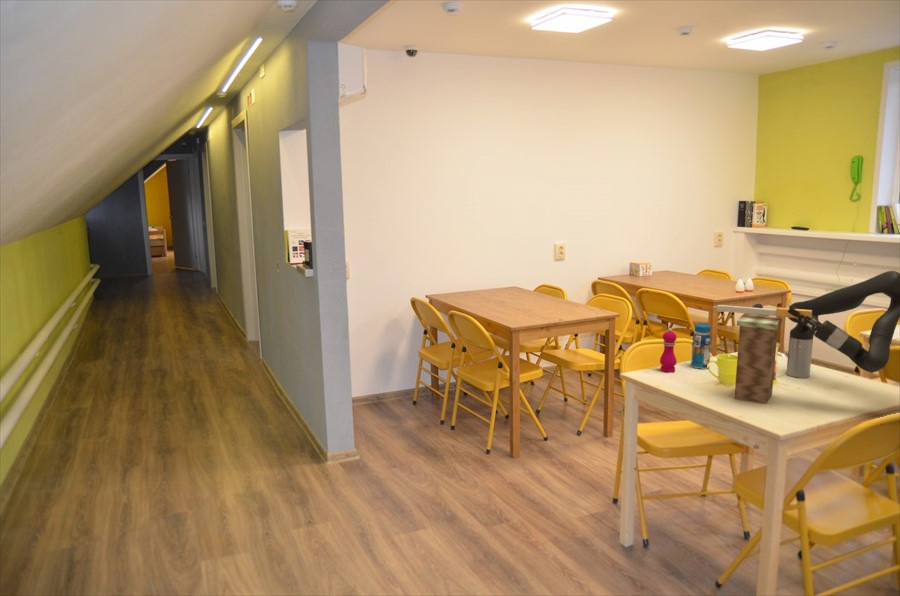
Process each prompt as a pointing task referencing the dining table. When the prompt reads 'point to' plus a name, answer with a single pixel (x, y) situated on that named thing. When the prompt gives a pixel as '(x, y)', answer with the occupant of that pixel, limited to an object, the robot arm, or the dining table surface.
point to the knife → (762, 311)
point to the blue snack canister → (701, 346)
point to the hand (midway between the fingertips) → (789, 308)
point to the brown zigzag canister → (756, 357)
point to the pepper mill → (668, 352)
